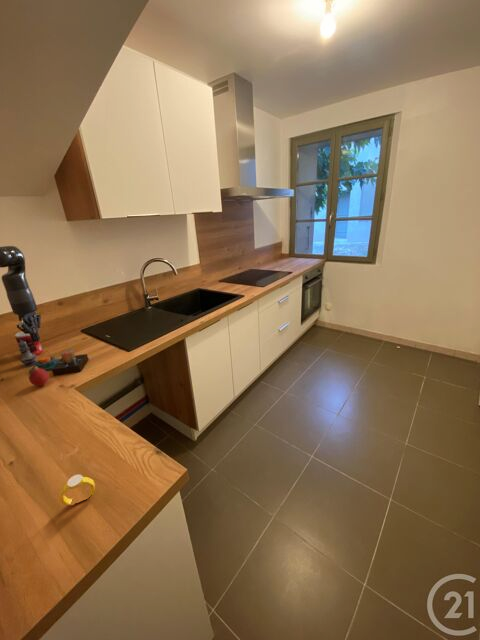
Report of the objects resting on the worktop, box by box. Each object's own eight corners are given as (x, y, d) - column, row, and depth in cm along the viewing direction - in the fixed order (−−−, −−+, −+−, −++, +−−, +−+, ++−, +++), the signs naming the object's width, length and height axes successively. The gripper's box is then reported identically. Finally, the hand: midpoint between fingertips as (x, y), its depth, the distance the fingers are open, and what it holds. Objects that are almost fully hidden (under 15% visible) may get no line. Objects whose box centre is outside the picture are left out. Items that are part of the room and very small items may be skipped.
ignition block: (29, 373, 107) (27, 367, 106) (39, 364, 114) (37, 358, 113) (56, 369, 109) (54, 363, 108) (64, 360, 116) (62, 354, 115)
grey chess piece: (23, 369, 111) (12, 344, 106) (20, 365, 114) (10, 340, 110) (40, 363, 115) (30, 338, 110) (36, 359, 118) (27, 335, 114)
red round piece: (42, 390, 95) (34, 372, 92) (29, 389, 96) (21, 371, 93) (55, 381, 100) (48, 363, 98) (42, 380, 102) (35, 362, 99)
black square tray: (53, 375, 104) (51, 369, 103) (64, 363, 113) (61, 357, 112) (80, 371, 106) (78, 365, 105) (88, 359, 115) (86, 353, 114)
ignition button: (38, 364, 109) (37, 360, 108) (43, 360, 112) (41, 356, 111) (48, 363, 109) (47, 359, 108) (52, 358, 112) (51, 355, 112)
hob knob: (66, 359, 110) (63, 349, 109) (77, 357, 111) (74, 347, 109) (61, 364, 106) (58, 354, 104) (73, 363, 107) (70, 352, 105)
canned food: (37, 349, 129) (29, 328, 125) (46, 351, 125) (38, 330, 121) (19, 356, 122) (10, 335, 118) (29, 359, 119) (20, 337, 115)
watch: (65, 513, 54) (56, 493, 52) (66, 501, 56) (57, 481, 54) (97, 498, 56) (89, 479, 54) (97, 487, 59) (90, 468, 56)
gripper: (22, 304, 95) (38, 346, 101) (41, 294, 107) (54, 333, 113) (-1, 306, 94) (16, 349, 100) (20, 296, 106) (35, 335, 112)
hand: (36, 340), depth 106 cm, fingers closed
